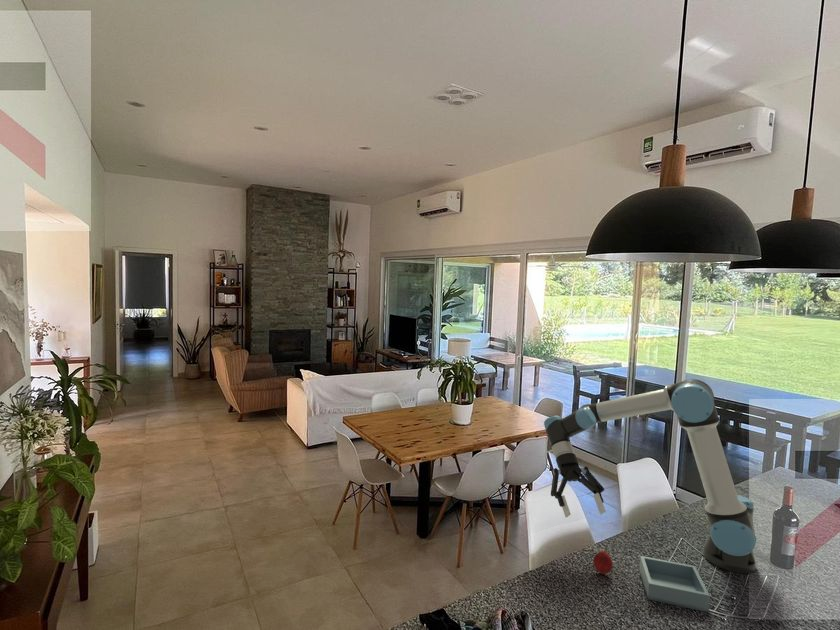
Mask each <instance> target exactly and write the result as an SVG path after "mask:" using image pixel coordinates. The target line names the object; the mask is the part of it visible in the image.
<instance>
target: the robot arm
mask: <svg viewBox="0 0 840 630" xmlns="http://www.w3.org/2000/svg"><path fill="white" fill-rule="evenodd" d="M709 385H710V384H707V383H706V382H705V381H703V380H700V379H696V378H689V379H686V380H685V379H684V380H683V381H680V382H676V383H672V384H668V385H667V384H666V386H665V387H664V388H663V389H662V388H661V389H657V390H652V391H647V392H643V393H639V394H635V395H629V396H624V397H619V398H615V399H611V400H605V401H602V402H601V401H600V402H595V403H585V404H583V405H581V406H580V407H579V408H578V409H577V410H575V411H574V412H572V413H570V414H568V415H566V416H564V417H563V418H562V417H561V416H559V415H553V416H549V417H547V418H546V419H545V420H544V422H543V425H544V430H545V433H546V435H547V438H548V441H549V443H550V446H551V451H552V453H553V456H554V458H555V462H556V465H557V467H556V468H555V467H554V468H553V470H551V475H552V479H551V480H552V481H551V489H550V496H551V497H554V498H555V499H557V501H558V502H557V503H558V505H559V507H561V508H562V512H563V514H564V518H568V517H570V516H571V515H572V514H571V511H570V508H569V505H568V503H567V502H568V501H567V498H566V496H565V495H563V493H564V491H565V488H566V485H567V482H569V483H571V482H578V483H580V484H582V485H583V486H585V488H587V489H588V490H589V491H590V492H591V493H593V494H594V495H593V499H594V501H595V504H596V507H597V509H598V512H599V514H600V515H603V514H604V513H606V508H605V506H604V499H603V497H602V493H603V492H604V491H605V488H604V487H603V485H602V484H601V483H600V482H599V481H598V480H597V478H596V477H595V476H594V475H593V474H592V473H591V471H590V470H589V467H588V466H584V467H580V466H579V461H578V458H577V456H576V454H575V450H574V447H573V444H572V442H571V439H570V438H572V437H574V436H576V435H578V434H581V433H582V432H585V431H587V430H591V428H593V427H595V426H596V424H599V423H602V422H603V423H604V422H608V421H613V420H614V421H615V420H621V419H625V418H631V417H637V416H643V415H646V414H647V415H648V414H652V413H659V412H664V411H669V410H671V411H673V412H674V413H675V414H676V416H677V417H676V418H677V421H678V423H679V426H680V428H682V429H684V430H685V431H686V433H687V436H688V439H689V440H688V441H689V443H690V447H691V450H692V453H693V456H694V460H695V462H696V467H697V470H698V473H699V477H700V480H701V483H702V486H703V489H704V493H705V496H706V499H707V503H706V505H704V510H705V514H706V517H707V521H708V525H709V528H710V529H709V534H708V536H707V539H706V540H705V542H704V544H703V546H702V547H703V548H702V555H703V557H704V558H705V560H707V561H709V562H710V563H711V564H713V565H714V566H716V567H719V568H721V569H722V570H725V571H729V572H733V573H738V574H752V573H754V572H755V571H756V566H757V565H756V564H757V563H756V558H755V555H754V552H753V551H754V549H755V548H756V543H757V536H756V533H755V528H754V527H755V525H754V511H755V508H754V507H755V506H754V502H753V501H752V500H751V499H749V498H747V497H745V496H742V495H739V494H738V493H737V490H736V487H735V483H734V480H733V477H732V474H731V471H730V468H729V464H728V460H727V457H726V455H725V451H724V447H723V444H722V442H721V438H720V435H719V432H718V429H717V426H718V424H720V421H721V420H720V417H719V414H718V410H717V407H716V404H715V396H714V392H713V390H712V388H711V387H710V386H709ZM560 475H561V477H562V478H561V481H560V482H561V483H560V485H559V487H558V484H559V477H560Z"/></svg>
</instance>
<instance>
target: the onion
mask: <svg viewBox="0 0 840 630" xmlns="http://www.w3.org/2000/svg"><path fill="white" fill-rule="evenodd" d="M592 560H593V561H592V562H593V566H594V568H595V570H596V571H597V573H600V574H601V575H605V574H609V573H610V572H611V571H612V569H613V565H614V563H613V560H612V557H611V556H610V555H609V554H608V553H607V552H606V549H602V550H601V551H599V552H597V553H596V554H595V555H594V557H593V559H592Z"/></svg>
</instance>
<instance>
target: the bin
mask: <svg viewBox="0 0 840 630" xmlns="http://www.w3.org/2000/svg"><path fill="white" fill-rule="evenodd" d="M638 567H639V569H638V570H639V573H640V577H641V581H642V583H643V588H644V591H645V595H646V597H647V600H649V601H654V602H658V603H663V604H668V605H673V606H676V607H682V608H687V609H692V610H697V611H700V612H706V613H709V612H710V601H711V600H710V599H711V595H710V593H709V591H708V589H707V587H706V585H705V583H704V581H703V579H702V576H700V574H699V571H698V569H697V567H696V565H691V564H687V563H686V564H685V563H680V562H676V561H672V560H671V561H669V560H665V559H660V558H654V557H649V556H644V555H640V556H639V566H638Z"/></svg>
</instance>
